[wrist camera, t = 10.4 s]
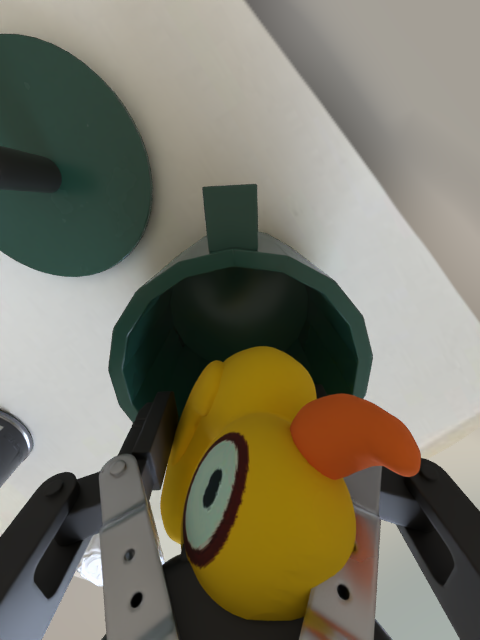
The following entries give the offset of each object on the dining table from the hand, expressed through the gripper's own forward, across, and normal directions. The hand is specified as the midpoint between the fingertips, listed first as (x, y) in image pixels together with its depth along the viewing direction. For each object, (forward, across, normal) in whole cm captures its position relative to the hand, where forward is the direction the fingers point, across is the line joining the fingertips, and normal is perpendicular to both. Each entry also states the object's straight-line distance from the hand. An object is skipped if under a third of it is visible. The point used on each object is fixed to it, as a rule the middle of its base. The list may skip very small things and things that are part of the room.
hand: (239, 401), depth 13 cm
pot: (+13, 0, 0) cm, 13 cm away
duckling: (+2, 0, 0) cm, 2 cm away
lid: (+12, +14, -12) cm, 22 cm away
